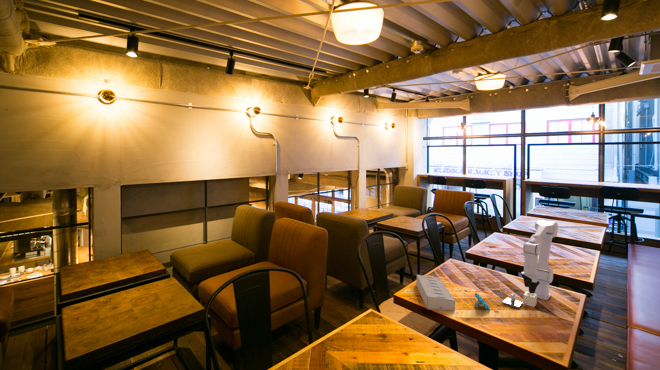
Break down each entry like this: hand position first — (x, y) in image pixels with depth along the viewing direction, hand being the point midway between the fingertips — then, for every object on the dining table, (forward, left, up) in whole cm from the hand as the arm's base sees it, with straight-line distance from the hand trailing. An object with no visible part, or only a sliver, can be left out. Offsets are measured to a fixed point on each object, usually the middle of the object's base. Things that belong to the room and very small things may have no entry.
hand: (529, 289), depth 159 cm
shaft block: (+2, -7, -10) cm, 12 cm away
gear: (+18, -17, -10) cm, 27 cm away
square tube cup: (-5, -1, -10) cm, 11 cm away
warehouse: (+25, -41, -10) cm, 49 cm away
